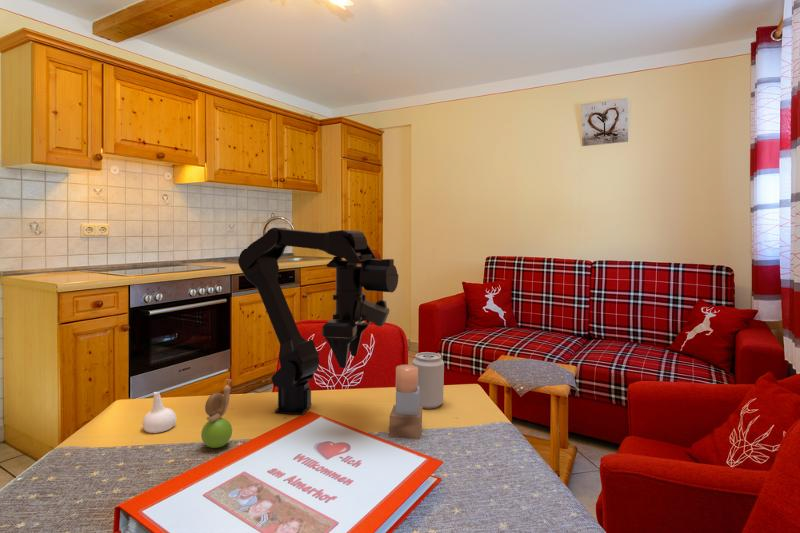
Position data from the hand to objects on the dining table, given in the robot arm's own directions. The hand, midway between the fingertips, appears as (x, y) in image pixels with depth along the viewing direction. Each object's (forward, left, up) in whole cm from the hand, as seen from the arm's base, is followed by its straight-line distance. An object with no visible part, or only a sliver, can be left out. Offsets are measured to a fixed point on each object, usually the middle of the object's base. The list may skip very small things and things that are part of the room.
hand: (348, 361), depth 100 cm
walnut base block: (+13, -3, -13) cm, 19 cm away
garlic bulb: (-37, -11, -13) cm, 41 cm away
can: (+16, +13, -13) cm, 24 cm away
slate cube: (+13, -3, -9) cm, 16 cm away
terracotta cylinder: (+13, -3, -4) cm, 14 cm away
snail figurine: (-21, -16, -13) cm, 30 cm away
